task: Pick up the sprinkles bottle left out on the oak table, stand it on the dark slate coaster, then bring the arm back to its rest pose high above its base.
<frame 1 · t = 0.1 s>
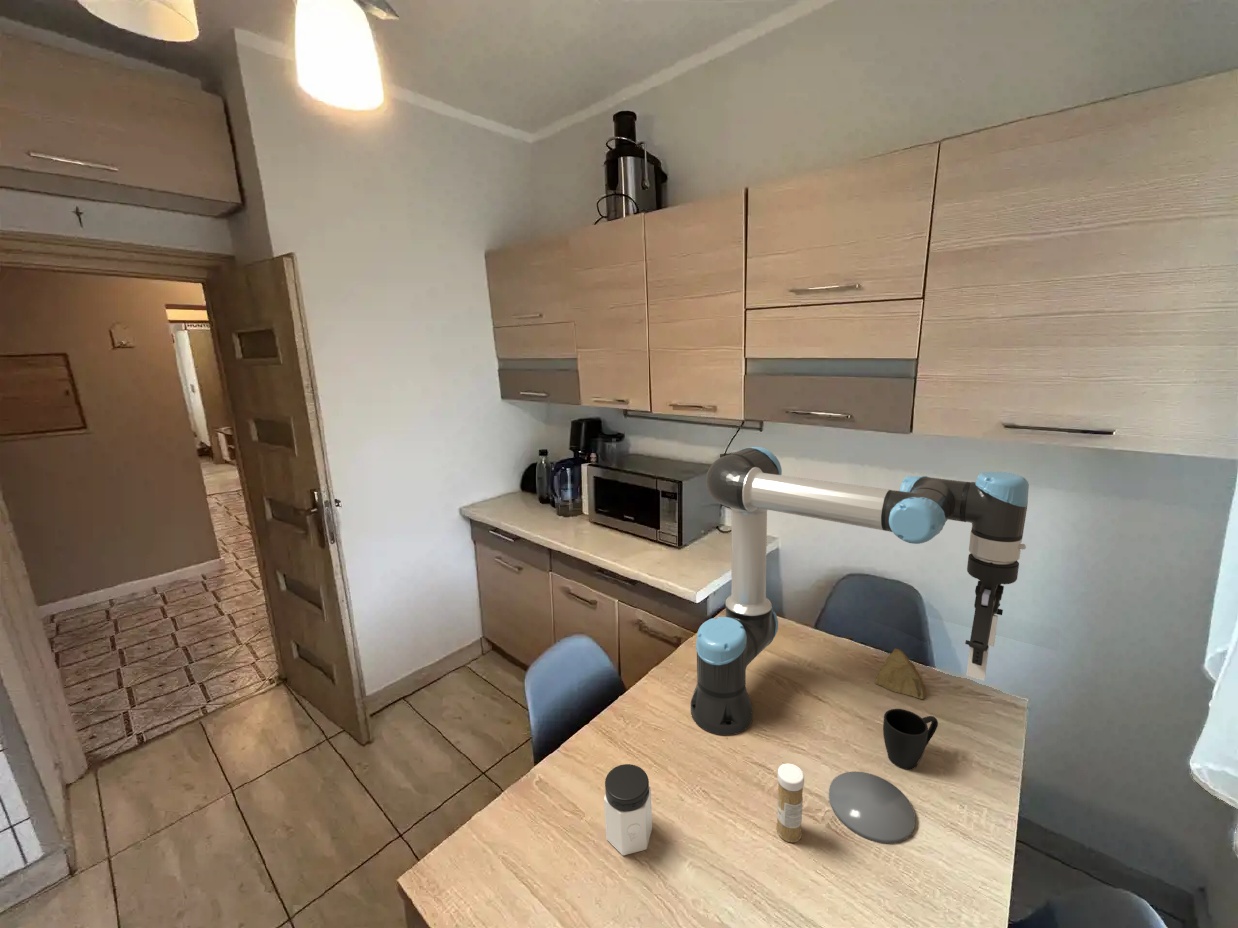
hand: (980, 659, 97), 28 cm above the table, fingers open, 13 cm apart
jar: (629, 834, 96), on the table
sprinkles bottle: (788, 833, 94), on the table
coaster: (870, 806, 99), on the table
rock: (900, 690, 131), on the table
mug: (909, 758, 110), on the table
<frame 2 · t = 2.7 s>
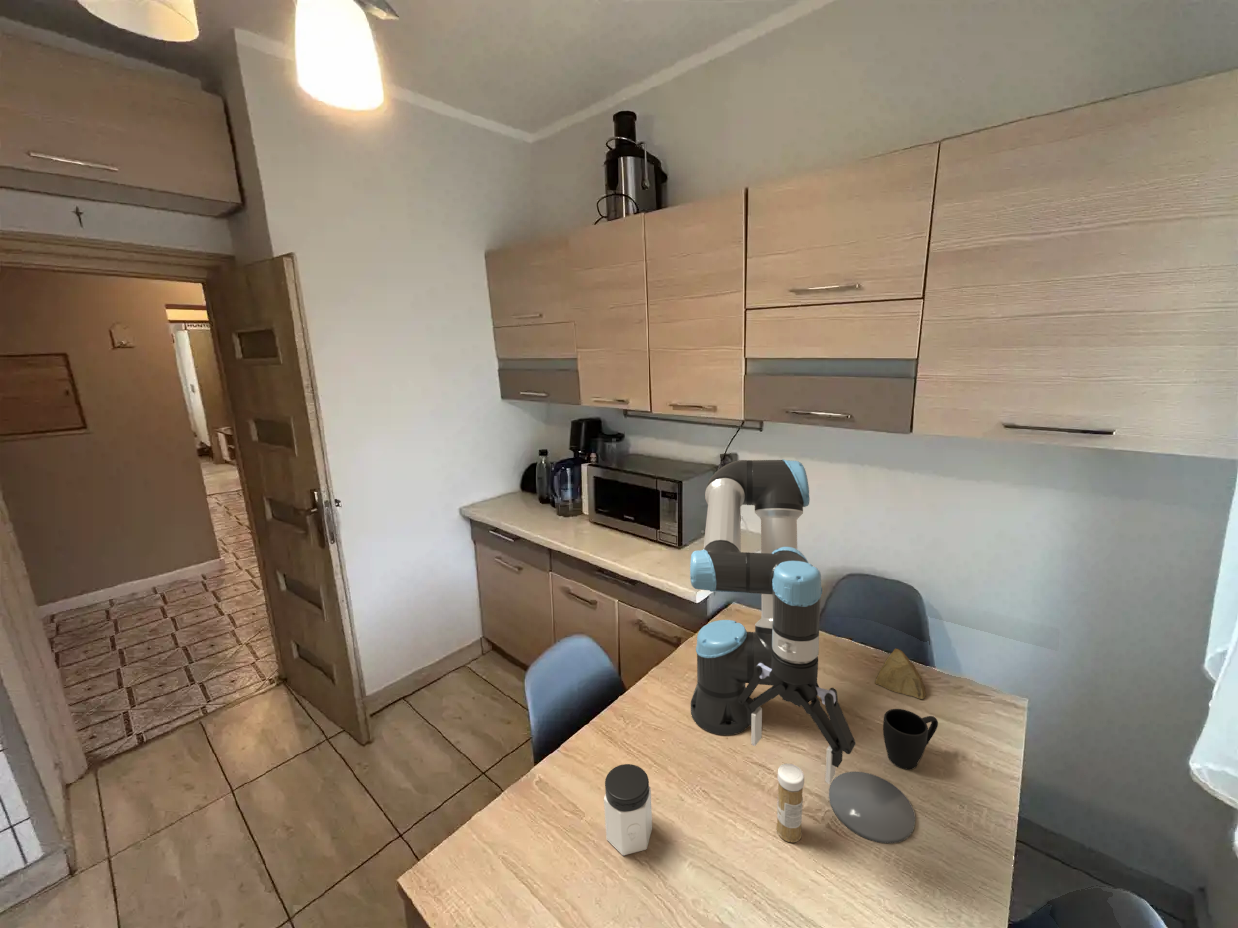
hand: (791, 758, 91), 16 cm above the table, fingers open, 13 cm apart
nothing on the table moved.
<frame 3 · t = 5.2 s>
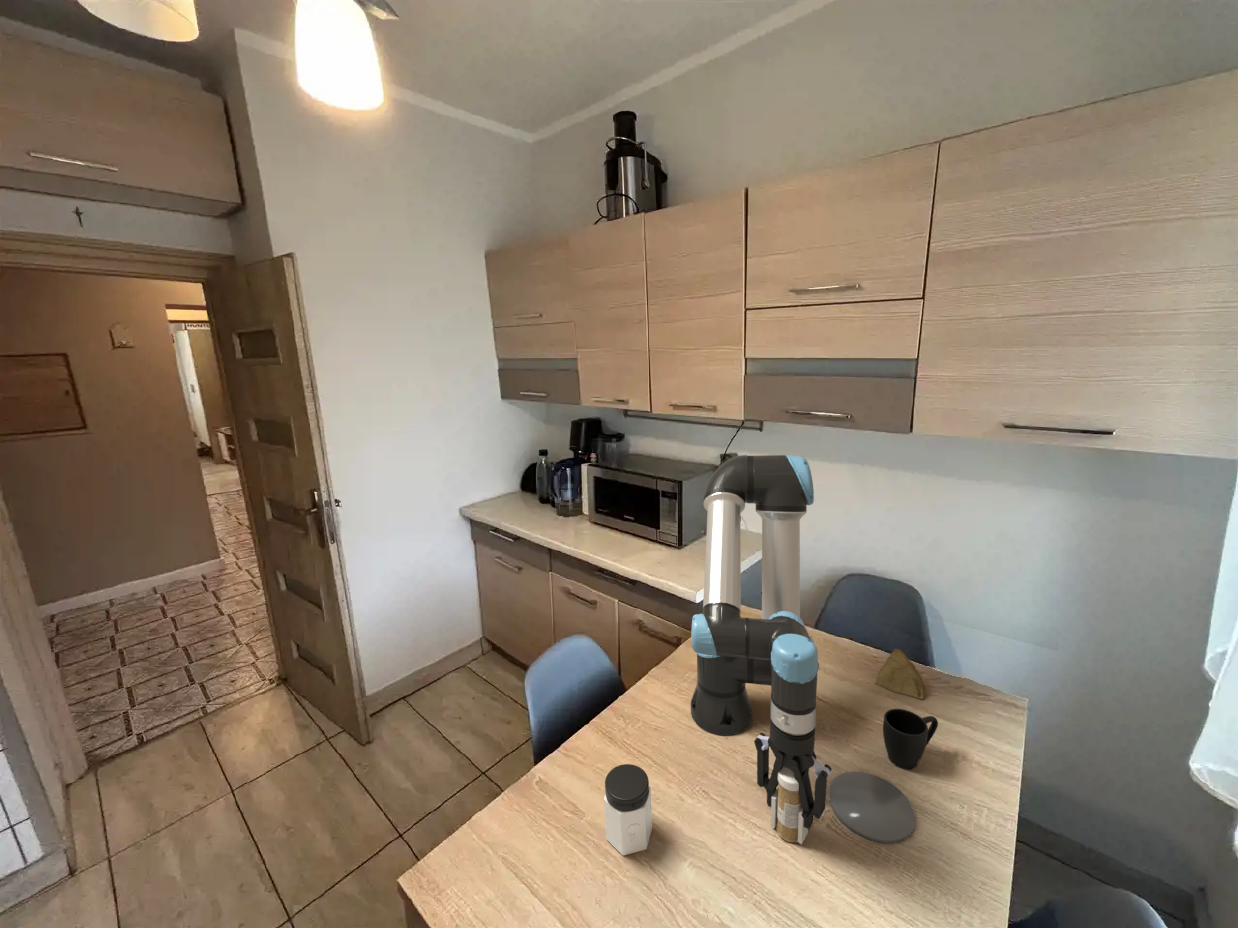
hand: (788, 829, 94), 1 cm above the table, fingers closed on sprinkles bottle, 4 cm apart
sprinkles bottle: (789, 833, 94), on the table, touching gripper
everything else where it was.
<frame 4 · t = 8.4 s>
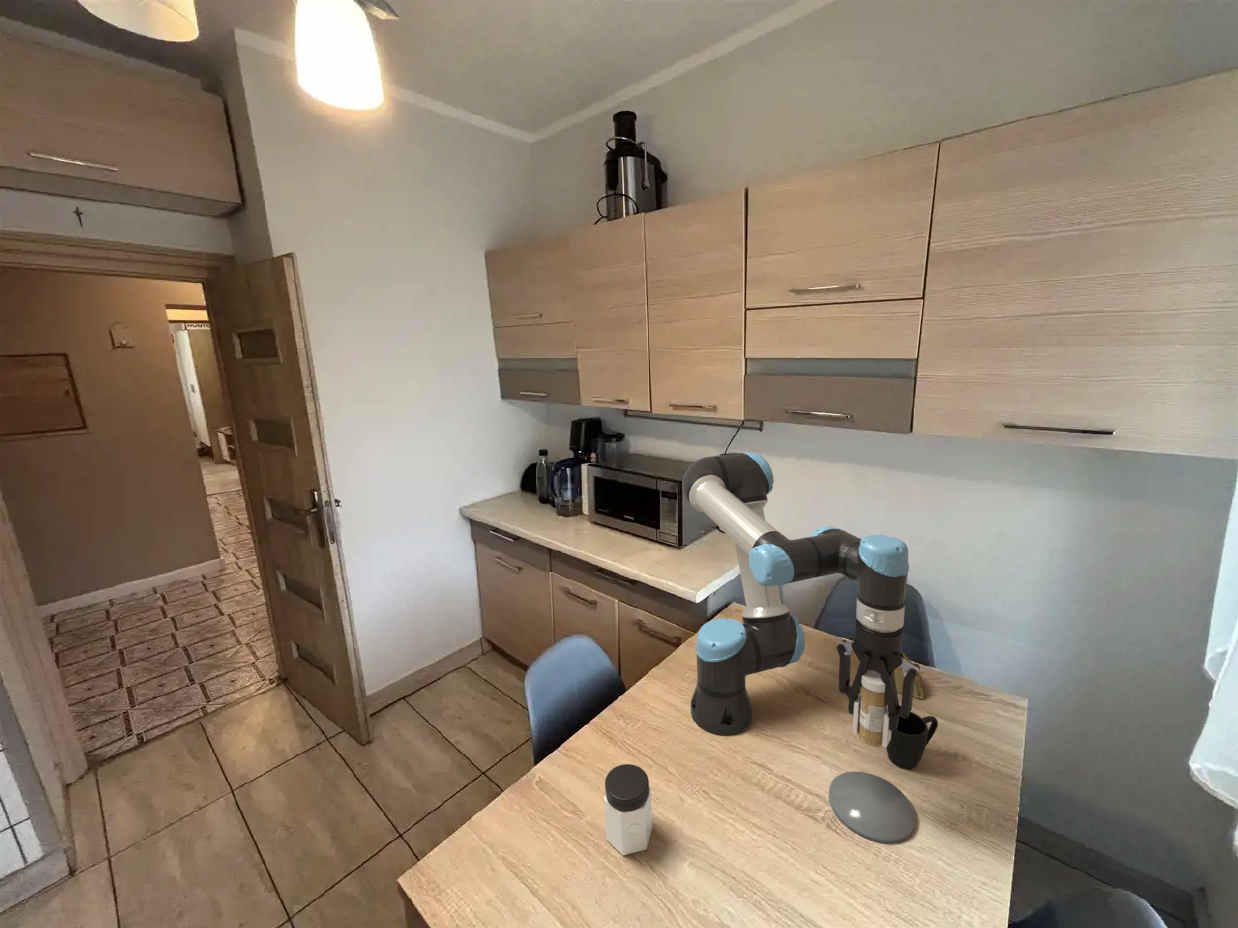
hand: (871, 735, 95), 17 cm above the table, fingers closed on sprinkles bottle, 4 cm apart
sprinkles bottle: (871, 739, 95), point 16 cm above the table, touching gripper
everything else where it was.
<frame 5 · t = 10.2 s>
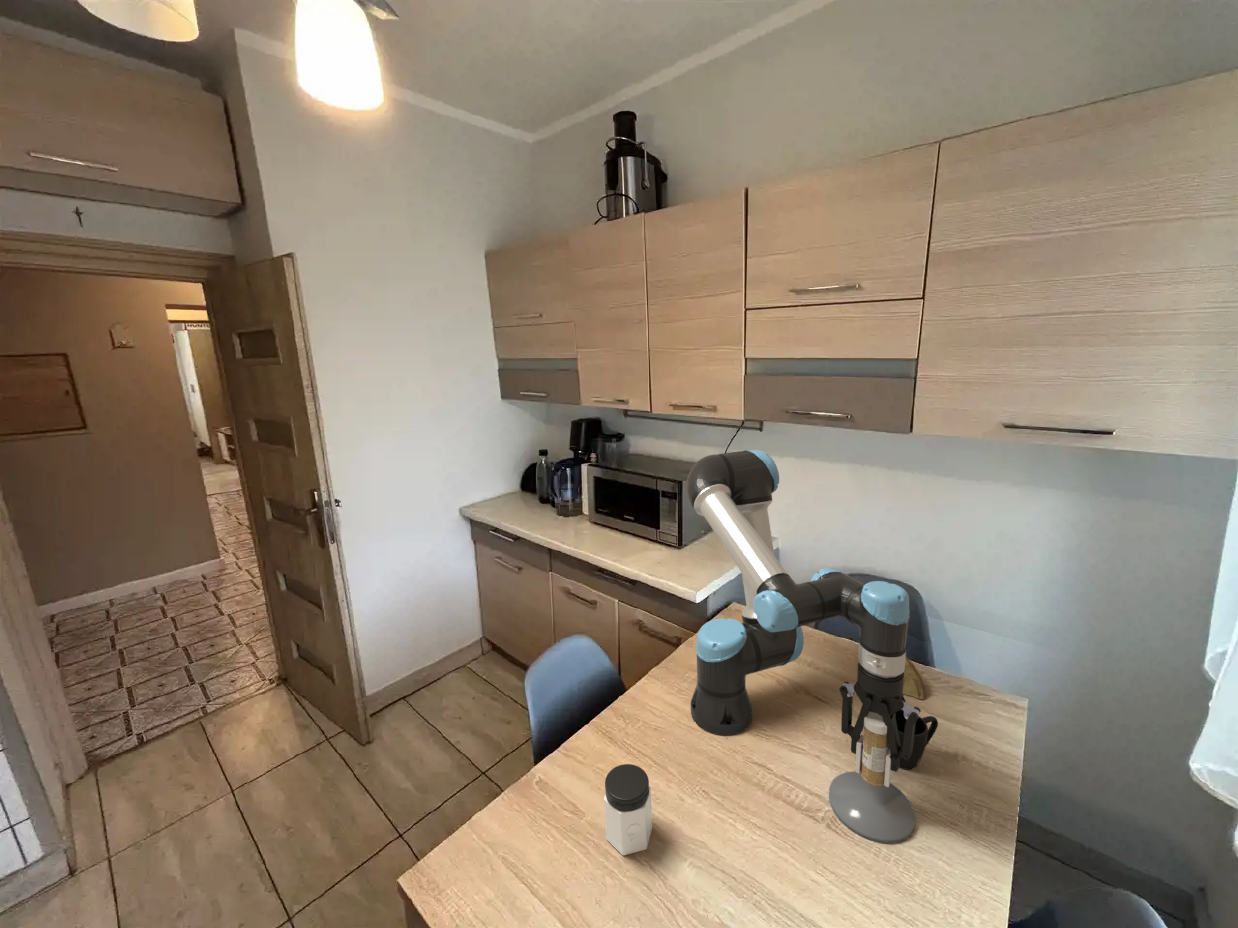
hand: (873, 774, 97), 8 cm above the table, fingers closed on sprinkles bottle, 4 cm apart
sprinkles bottle: (873, 778, 97), point 7 cm above the table, touching gripper
everything else where it was.
when the fingers open (3 cm above the table, at t = 11.7 s): sprinkles bottle drops 1 cm, resting on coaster.
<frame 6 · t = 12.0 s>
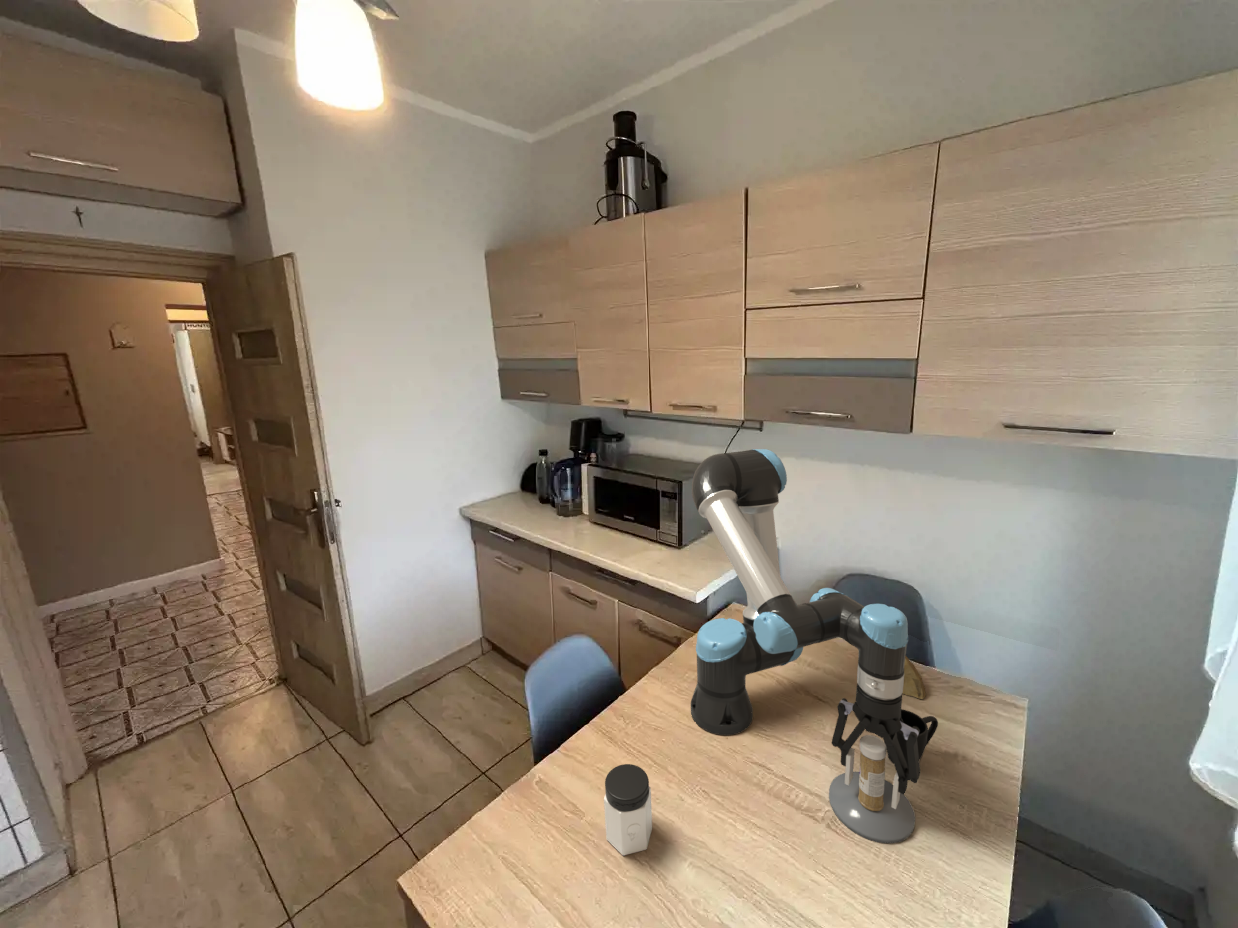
hand: (871, 791, 98), 4 cm above the table, fingers open, 8 cm apart
sprinkles bottle: (871, 803, 99), point 1 cm above the table, touching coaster
everything else where it was.
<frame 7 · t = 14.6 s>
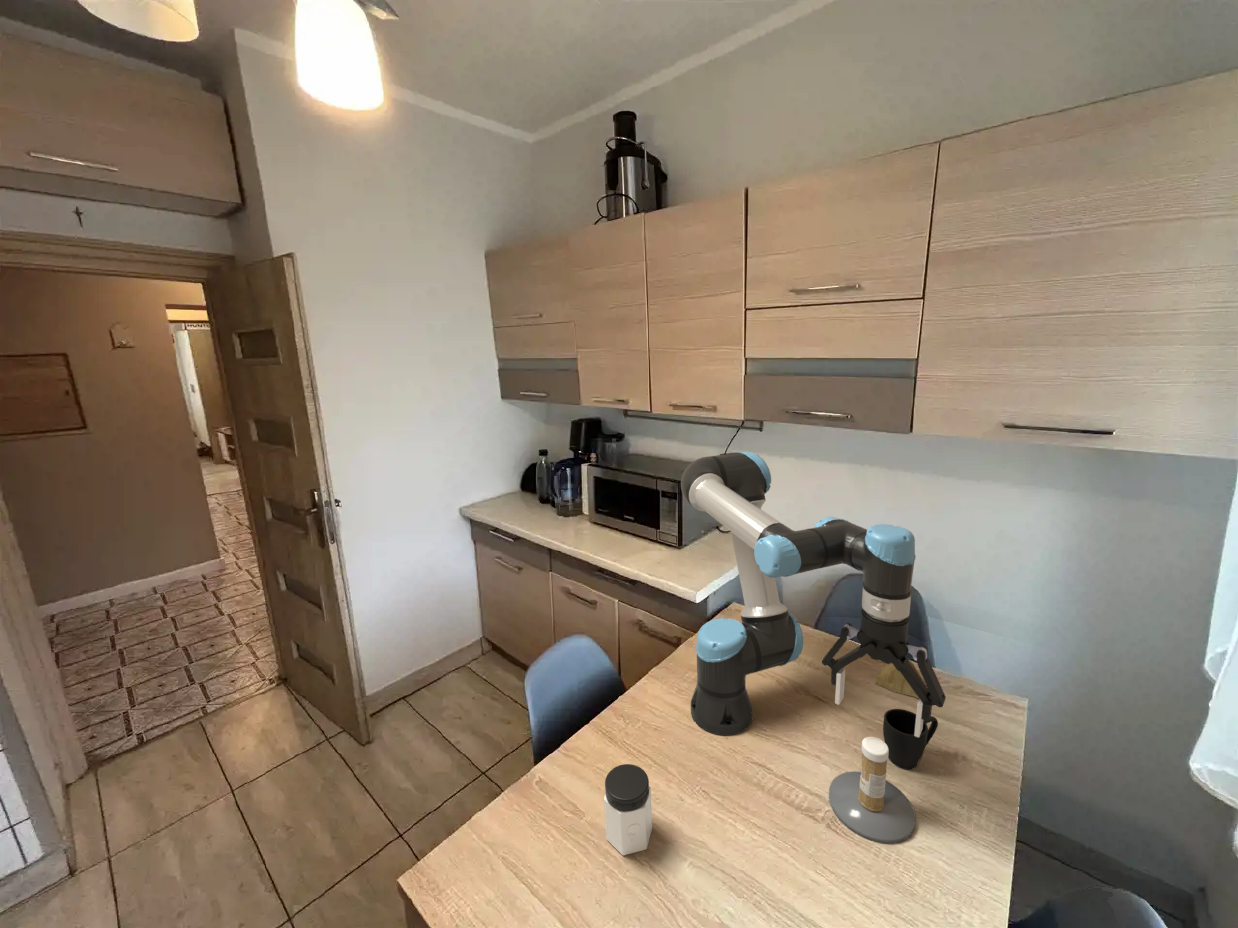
hand: (877, 715, 94), 21 cm above the table, fingers open, 13 cm apart
nothing on the table moved.
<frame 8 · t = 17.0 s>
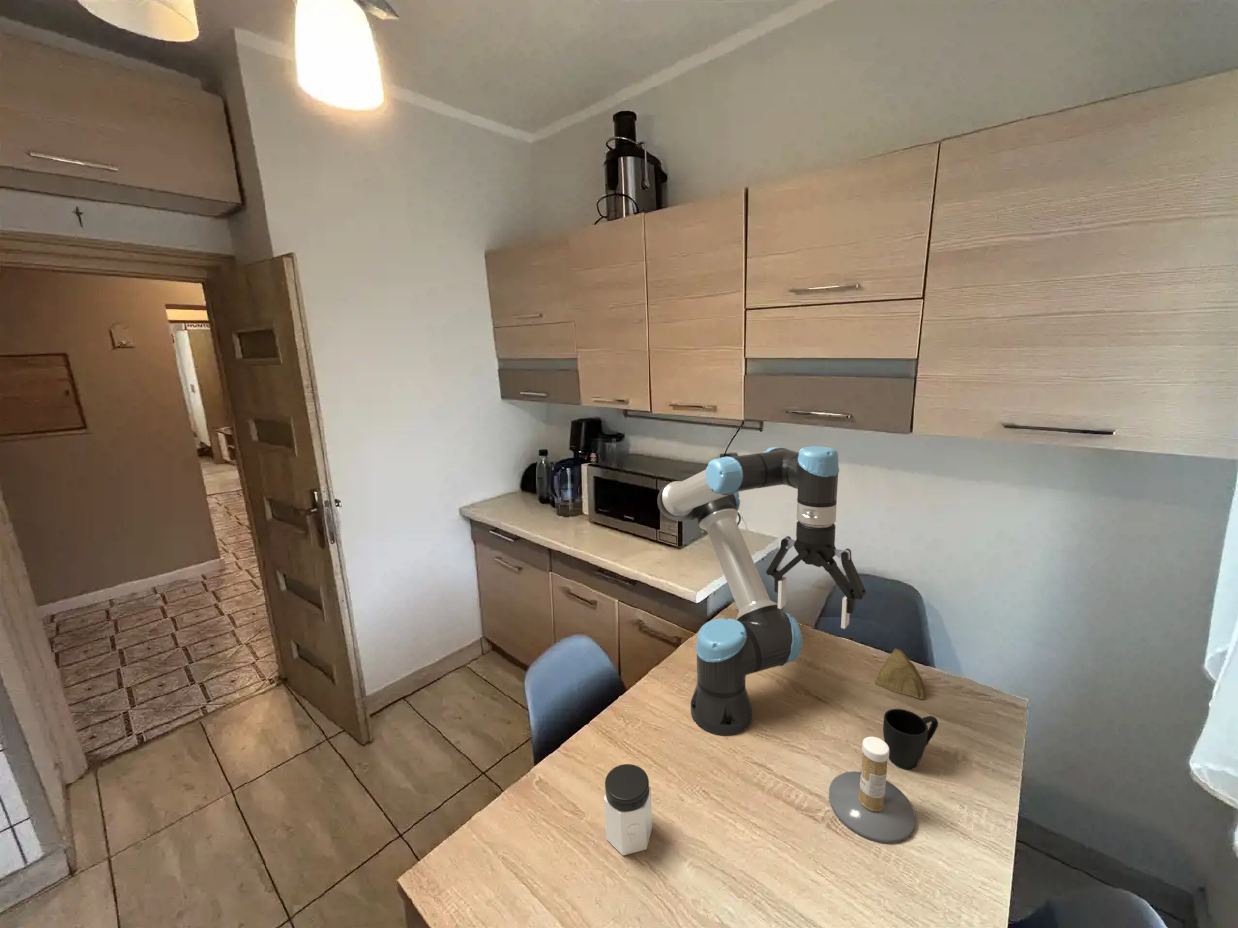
hand: (812, 615, 109), 32 cm above the table, fingers open, 13 cm apart
nothing on the table moved.
at the end: sprinkles bottle 0.1 cm off-centre on the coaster, point 0.8 cm above the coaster's base; sprinkles bottle tilted 0°; the gripper is holding nothing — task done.
